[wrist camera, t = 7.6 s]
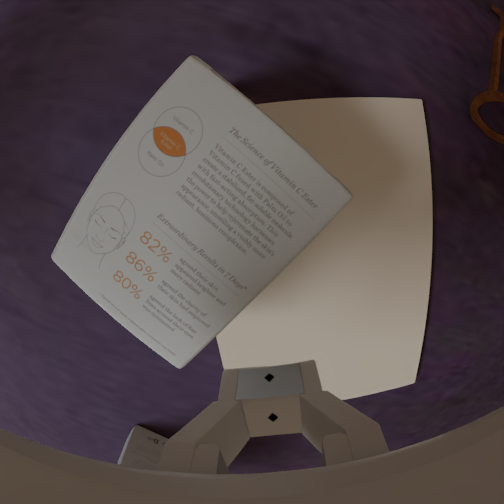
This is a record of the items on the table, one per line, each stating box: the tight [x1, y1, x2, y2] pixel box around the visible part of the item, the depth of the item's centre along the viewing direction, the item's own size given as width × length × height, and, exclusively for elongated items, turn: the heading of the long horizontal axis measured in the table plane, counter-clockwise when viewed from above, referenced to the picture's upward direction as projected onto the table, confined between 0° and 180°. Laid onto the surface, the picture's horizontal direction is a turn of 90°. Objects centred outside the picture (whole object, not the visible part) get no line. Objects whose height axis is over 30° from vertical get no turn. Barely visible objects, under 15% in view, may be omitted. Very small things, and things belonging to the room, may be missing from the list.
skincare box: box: [118, 425, 168, 470], centre depth 17 cm, size 6×4×12 cm
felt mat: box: [216, 97, 433, 400], centre depth 17 cm, size 14×20×1 cm
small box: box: [51, 55, 353, 369], centre depth 13 cm, size 8×6×10 cm
